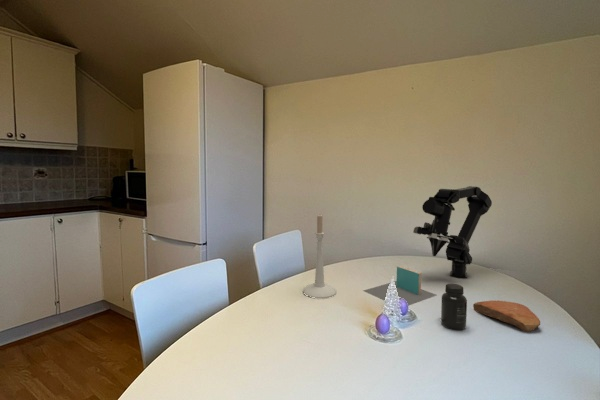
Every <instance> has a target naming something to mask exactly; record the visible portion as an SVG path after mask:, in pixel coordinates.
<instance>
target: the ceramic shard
mask: <svg viewBox="0 0 600 400" xmlns="http://www.w3.org/2000/svg"><path fill="white" fill-rule="evenodd" d="M472 307H473V310H474V311H475V312H477V313H479V314H482V315H484V316H488V317H491V318H493V319H497V320H499V321H501V322H504V323H506V324H510V325H512V326H515V327H516V328H518V329H520V330H522V331H523V332H531V331H534V330H535V329H538V328H539V327H540V326H541V320H540V318H539V317H538V316H537V315H536V314H535V312H534V311H532V310H531V309H530V308H529V307H528V306H526V305H524V304H521V303H518V302H513V301H506V300H484V301H483V300H482V301H477V302H474V303H473V305H472Z"/></svg>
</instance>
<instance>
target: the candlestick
mask: <svg viewBox="0 0 600 400" xmlns="http://www.w3.org/2000/svg"><path fill="white" fill-rule="evenodd" d="M316 224H317V225H316V232H315V233H314V234H315V236H316V237H315V238H316V239H317V241H316V254H315V255H316V257H315V259H316V260H315V273H314V274H315V276H314V283H311V284H308V285H306V286H304V287H303V289H302V293H303V292H304V293H305V294H306V295H308V296H311V297H315V298H326V299H330V298H329V297H331V298H333V297H335V296H336V295H337V289H336V288H335V287H334V286H332V285H331V284H328V283H325V274H324V272H325V271H324V254H323V253H324V251H323V250H324V249H323V247H324V246H323V238H324V234H325V232H323V215H322V214H319V215H317V217H316ZM334 295H335V296H334ZM332 296H333V297H332ZM315 298H314V299H315Z"/></svg>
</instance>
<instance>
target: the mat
mask: <svg viewBox="0 0 600 400" xmlns="http://www.w3.org/2000/svg"><path fill="white" fill-rule="evenodd" d="M394 282H395V285H396V283H397V280H395V281H394ZM390 283H391V282H388V283H384V284H381V285H378V286H374V287H371V288H367V289H364V290H362V292H365V293H367V294H369V295H372V296H374V297H376V298H378V299H380V300H382V301H384V300H385V297H386V293H387V289H388V286H389V284H390ZM396 288H397V292H398V296H399V297H401V298H404V299H405V300H406V301H407V303H408V306H412V305H414V304H417V303H420V302H423V301H425V300H427V299H431V298H434V297H435V296H438V295H437V294H436V293H433V292H430V291H427V290H425V289H423V288H421V294H419V295H417V294H415V293H412V292H410V291H407V290H404V289H402V288H399V287H397V286H396ZM408 306H407V307H408Z"/></svg>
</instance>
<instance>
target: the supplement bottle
mask: <svg viewBox="0 0 600 400" xmlns="http://www.w3.org/2000/svg"><path fill="white" fill-rule="evenodd" d="M444 290H445V292H444V293H443V294H442V295H441V303H440V304H441V306H440V307H441V311H440V312H441V313H440V314H441V315H440V319H441V320H440V323H441V324H442V326H443V327H445V328H447V329H450V330H454V331H461V330H464V329H465V328H466V327H467V316H468V315H467V310H468V309H467V308H468V300H467V297H466V296H465V295H464V292H465V291H464V287H463V286H462V285H461V284H457V283H456V284H455V283H447V284H445V289H444Z"/></svg>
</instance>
